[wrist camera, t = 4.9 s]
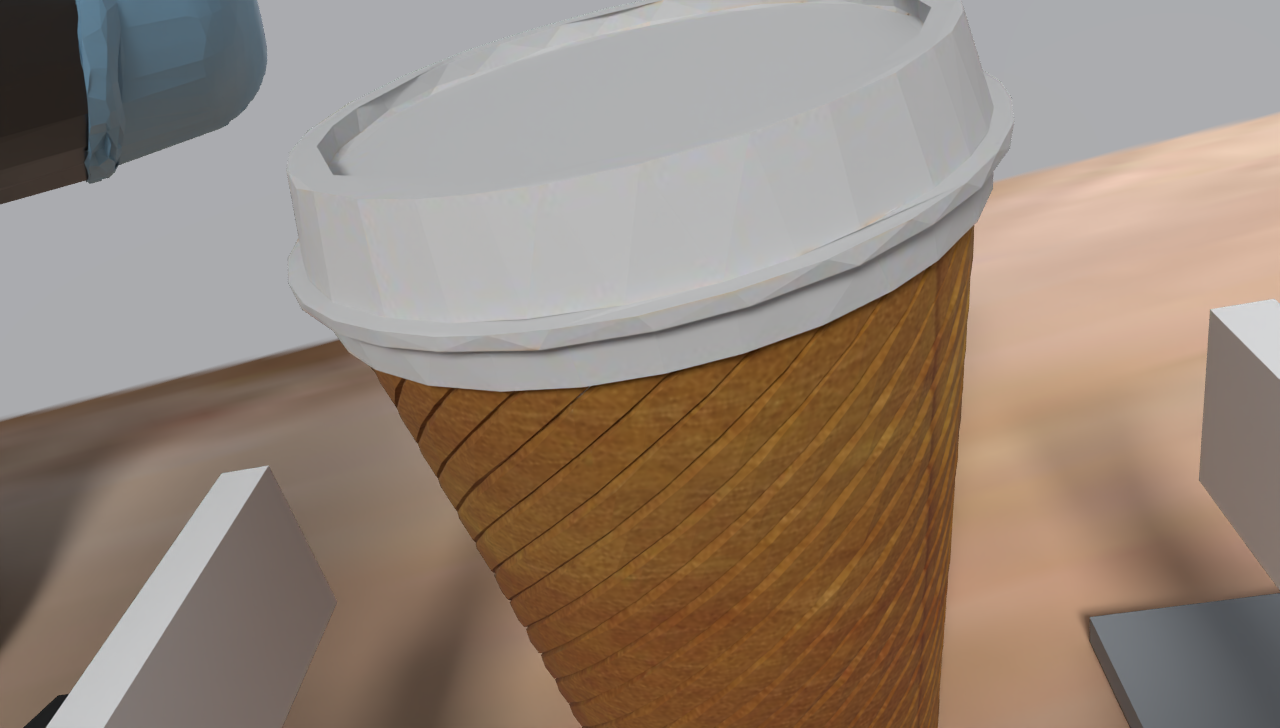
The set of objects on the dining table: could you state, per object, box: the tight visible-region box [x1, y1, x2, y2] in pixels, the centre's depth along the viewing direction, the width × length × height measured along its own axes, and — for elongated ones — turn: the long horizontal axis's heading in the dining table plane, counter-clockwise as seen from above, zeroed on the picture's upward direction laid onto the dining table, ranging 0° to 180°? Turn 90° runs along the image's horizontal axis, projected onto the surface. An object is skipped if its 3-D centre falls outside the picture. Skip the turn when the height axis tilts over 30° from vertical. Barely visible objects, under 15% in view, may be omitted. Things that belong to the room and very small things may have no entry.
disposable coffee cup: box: [286, 0, 1014, 728], centre depth 16 cm, size 10×10×12 cm
